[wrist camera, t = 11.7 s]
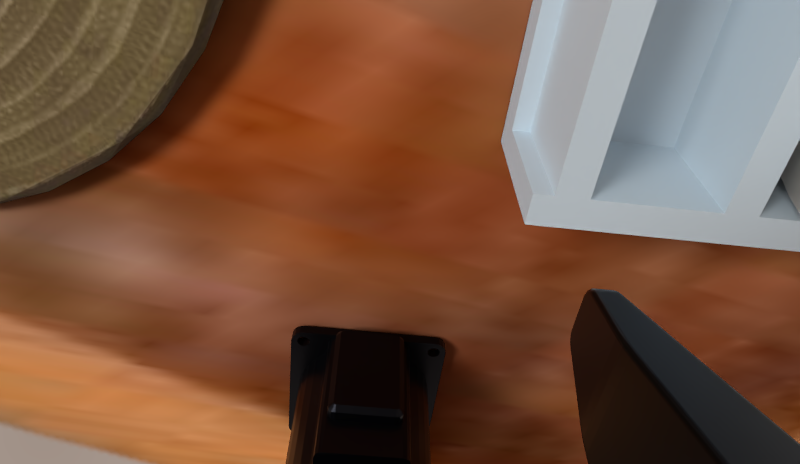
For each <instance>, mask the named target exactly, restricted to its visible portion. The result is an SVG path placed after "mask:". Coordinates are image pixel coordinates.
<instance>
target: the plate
mask: <svg viewBox="0 0 800 464" xmlns="http://www.w3.org/2000/svg"><path fill="white" fill-rule="evenodd" d="M781 179H782V181H783V183H784V186H785V188H786V190H787V193H788V195H789V197H790V198H791V200H792V202H793V203H794V205H795V207H796V208H797V210H798V212H799V213H800V140H799V142H798V144H797V146H796V148H795V149H794V151H793V153H792V155H791V157H790V159H789V161H788V163H787V165H786V167H785V169H784V171H783V173H782V175H781Z"/></svg>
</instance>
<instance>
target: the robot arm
mask: <svg viewBox="0 0 800 464" xmlns="http://www.w3.org/2000/svg"><path fill="white" fill-rule="evenodd" d="M300 337H306V338H308V339H302V338H300ZM570 345H571V354H572V362H573V370H574V377H575V385H576V393H577V401H578V409H579V417H580V425H581V431H582V438H583V443H584V447H585V452H586V456H587V460H588V464H800V444H799V443H798V442H797V441H795V440H794V439H793V438H792V437H791V436H789V435H788V434H787V433H786V432H785V431H783V430H782V429H781V428H780V427H779V426H777V425H776V424H775V423H774V422H773V421H772V420H770V419H769V418H768V417H767V416H766V415H764V414H763V413H762V412H761V411H760V410H758V409H757V408H756V407H755V406H754V405H752V404H751V403H750V402H749V401H748V400H747V399H745V398H744V397H743V396H742V395H741V394H739V393H738V392H737V391H736V390H735V389H733V388H732V387H731V386H730V385H729V384H727V383H726V382H725V381H724V380H723V379H722V378H720V377H719V376H718V375H717V374H716V373H714V372H713V371H712V370H711V369H710V368H708V367H707V366H706V365H705V364H704V363H703V362H701V361H700V360H699V359H698V358H697V357H695V356H694V355H693V354H692V353H691V352H689V351H688V350H687V349H686V348H685V347H683V346H682V345H681V344H680V343H679V342H678V341H676V340H675V339H674V338H673V337H672V336H670V335H669V334H668V333H667V332H666V331H664V330H663V329H662V328H661V327H660V326H658V325H657V324H656V323H655V322H654V321H653V320H651V319H650V318H649V317H648V316H647V315H645V314H644V313H643V312H642V311H641V310H639V309H638V308H637V307H636V306H635V305H633V304H632V303H631V302H630V301H629V300H628V299H626V298H625V297H624V296H623V295H622V294H620V293H619V292H617V291H614V290H603V289H590V290H588V291H587V293H586V294H585V296H584V298H583V301H582V303H581V306H580V309H579V312H578V314H577V317H576V320H575V323H574V326H573V328H572V332H571V339H570ZM432 348H436V350H430V349H432ZM444 357H445V343H444V342H443V341H442V340H441V339H439V338H435V337H425V336H413V335H402V334H390V333H379V332H368V331H356V330H345V329H334V328H322V327H311V326H300V327H297V328H296V329H295V330H294V331H293V335H292V340H291V371H290V406H289V428H290V430H291V436H290V442H289V447H288V453H287V459H286V464H431V459H430V436H429V426H430V422H431V417H432V412H433V408H434V403H435V399H436V394H437V389H438V385H439V380H440V376H441V371H442V366H443V362H444Z"/></svg>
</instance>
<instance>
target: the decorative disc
mask: <svg viewBox="0 0 800 464" xmlns="http://www.w3.org/2000/svg"><path fill="white" fill-rule="evenodd" d="M222 3H223V0H0V203H4V202H8V201H12V200H16V199H20V198H24V197H28V196H32V195H36V194H40V193H44V192H48V191H51V190H53V189H55V188H56V187H58V186H60V185H62V184H64V183H66V182H68V181H70V180H72V179H74V178H76V177H78V176H80V175H82V174H84V173H86V172H88V171H89V170H91V169H93V168H95V167H97V166H99V165H101V164H103V163H105V162H107V161H109V160H110V159H111V158H112V157H113V156H115V155H116V154H117V153H118V152H119V151H120V150H121V149H122V148H124V147H125V146H126V145H127V144H128V143H129V142H130V141H132V140H133V139H134V138H135V137H136V136H137V135H138V134H139V133H141V132H142V131H143V130H144V129H145V128H146V127H147V126H148V125H150V124H151V123H152V122H153V121H154V120H155V119H156V118H157V117H159V116H160V115H161V114H162V112H163V111H164V109H165V108H166V106H167V105H168V103H169V102H170V100H171V99H172V98H173V96H174V95H175V93H176V92H177V90H178V89H179V87H180V86H181V84H182V83H183V81H184V80H185V78H186V77H187V75H188V74H189V72H190V71H191V69H192V68H193V66H194V65H195V63H196V62H197V60H198V59H199V57H200V56H201V55H202V53H203V52H204V50H205V48H206V45H207V43H208V40H209V37H210V35H211V32H212V29H213V27H214V24H215V21H216V19H217V16H218V13H219V11H220V8H221V5H222Z"/></svg>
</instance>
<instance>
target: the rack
mask: <svg viewBox="0 0 800 464" xmlns="http://www.w3.org/2000/svg"><path fill="white" fill-rule="evenodd" d="M799 140H800V0H533V3H532V7H531V11H530V16H529V20H528V25H527V29H526V33H525V38H524V42H523V47H522V51H521V55H520V60H519V64H518V69H517V73H516V77H515V82H514V86H513V91H512V95H511V99H510V104H509V108H508V113H507V117H506V121H505V126H504V130H503V135H502V139H501V143H502V147H503V150H504V154H505V157H506V161H507V164H508V168H509V171H510V175H511V178H512V182H513V185H514V189H515V192H516V196H517V199H518V202H519V206H520V209H521V213H522V216H523V220H524V223H525V224H527V225H537V226H547V227H557V228H567V229H577V230H587V231H597V232H607V233H617V234H627V235H637V236H646V237H656V238H666V239H676V240H686V241H696V242H706V243H716V244H726V245H736V246H746V247H756V248H766V249H776V250H786V251H796V252H800V213H799V212H798V210H797V208H796V207H795V205H794V203H793V202H792V200H791V198H790V197H789V195H788V193H787V190H786V188H785V186H784V183H783V181H782V179H781V175H782V173H783V171H784V169H785V167H786V165H787V163H788V161H789V159H790V157H791V155H792V153H793V151H794V149H795V148H796V146H797V144H798V142H799Z"/></svg>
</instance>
